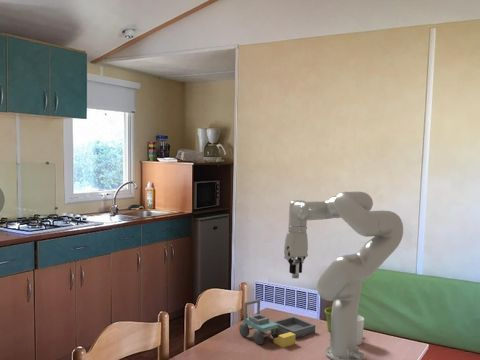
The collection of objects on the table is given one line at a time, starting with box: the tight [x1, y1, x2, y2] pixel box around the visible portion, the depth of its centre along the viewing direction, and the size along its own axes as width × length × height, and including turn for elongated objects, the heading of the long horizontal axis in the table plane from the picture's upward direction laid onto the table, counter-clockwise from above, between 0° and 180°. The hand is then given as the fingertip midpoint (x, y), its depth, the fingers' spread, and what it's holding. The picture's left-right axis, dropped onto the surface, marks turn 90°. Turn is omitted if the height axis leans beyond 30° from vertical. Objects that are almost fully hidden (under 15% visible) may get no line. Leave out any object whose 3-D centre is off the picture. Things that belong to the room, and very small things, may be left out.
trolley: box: [238, 299, 282, 346], centre depth 182 cm, size 14×10×14 cm
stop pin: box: [291, 258, 300, 279], centre depth 190 cm, size 4×4×8 cm
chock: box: [273, 332, 297, 348], centre depth 177 cm, size 6×6×4 cm
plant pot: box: [324, 307, 332, 333], centre depth 192 cm, size 9×9×9 cm
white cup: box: [356, 314, 365, 346], centre depth 181 cm, size 8×8×10 cm
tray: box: [272, 315, 316, 339], centre depth 191 cm, size 13×13×3 cm
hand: (295, 272), depth 190 cm, fingers closed on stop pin, 3 cm apart
